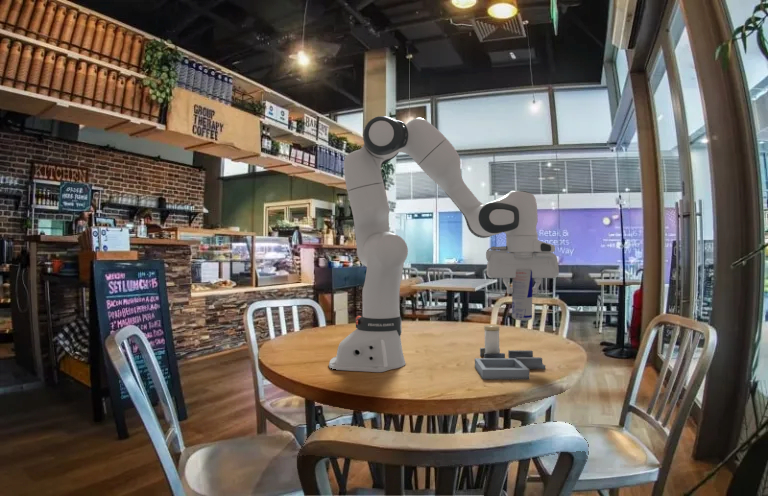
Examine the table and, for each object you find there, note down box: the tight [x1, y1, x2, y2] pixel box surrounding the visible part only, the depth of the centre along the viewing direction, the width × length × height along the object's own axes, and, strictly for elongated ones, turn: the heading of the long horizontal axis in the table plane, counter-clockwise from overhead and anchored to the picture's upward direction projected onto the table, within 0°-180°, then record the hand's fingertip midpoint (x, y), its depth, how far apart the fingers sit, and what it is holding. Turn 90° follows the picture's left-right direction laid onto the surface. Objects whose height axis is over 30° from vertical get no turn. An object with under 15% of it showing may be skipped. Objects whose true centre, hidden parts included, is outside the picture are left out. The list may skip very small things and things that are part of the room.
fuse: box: [483, 324, 500, 353], centre depth 133 cm, size 5×5×10 cm
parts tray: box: [474, 357, 531, 380], centre depth 117 cm, size 12×12×2 cm
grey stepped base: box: [507, 349, 546, 370], centre depth 126 cm, size 8×10×3 cm
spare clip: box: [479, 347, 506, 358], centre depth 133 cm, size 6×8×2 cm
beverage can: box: [511, 269, 533, 321], centre depth 126 cm, size 6×6×15 cm
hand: (522, 293), depth 126 cm, fingers closed on beverage can, 5 cm apart
